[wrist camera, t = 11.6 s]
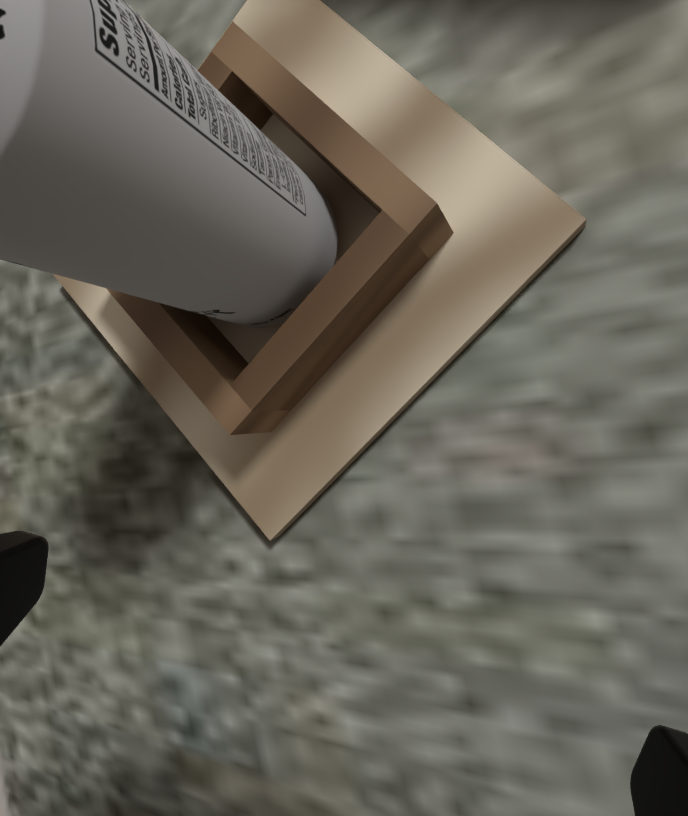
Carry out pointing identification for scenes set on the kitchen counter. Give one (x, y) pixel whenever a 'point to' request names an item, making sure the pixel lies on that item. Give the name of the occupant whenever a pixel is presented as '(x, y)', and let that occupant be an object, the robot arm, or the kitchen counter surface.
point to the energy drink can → (146, 171)
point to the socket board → (340, 263)
